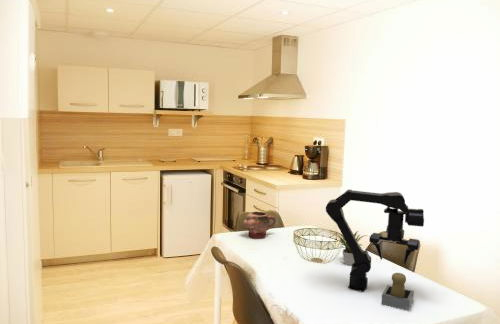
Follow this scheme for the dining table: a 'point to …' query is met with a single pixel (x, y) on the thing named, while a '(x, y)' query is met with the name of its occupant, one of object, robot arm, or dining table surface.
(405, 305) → the square metal tray
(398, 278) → the cork
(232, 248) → the dining table surface
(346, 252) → the house plant
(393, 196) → the robot arm
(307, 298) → the dining table surface
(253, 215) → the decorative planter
